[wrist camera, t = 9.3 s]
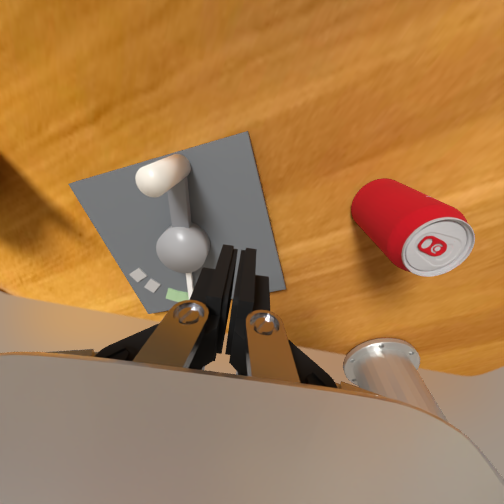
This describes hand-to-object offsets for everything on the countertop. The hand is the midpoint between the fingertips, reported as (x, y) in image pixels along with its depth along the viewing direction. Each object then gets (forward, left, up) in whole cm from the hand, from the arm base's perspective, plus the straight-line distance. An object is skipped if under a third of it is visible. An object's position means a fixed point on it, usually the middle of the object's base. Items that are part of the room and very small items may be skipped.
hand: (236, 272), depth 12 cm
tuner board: (-5, +10, -19) cm, 22 cm away
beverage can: (-6, -14, -19) cm, 25 cm away
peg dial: (-5, +10, -18) cm, 21 cm away
